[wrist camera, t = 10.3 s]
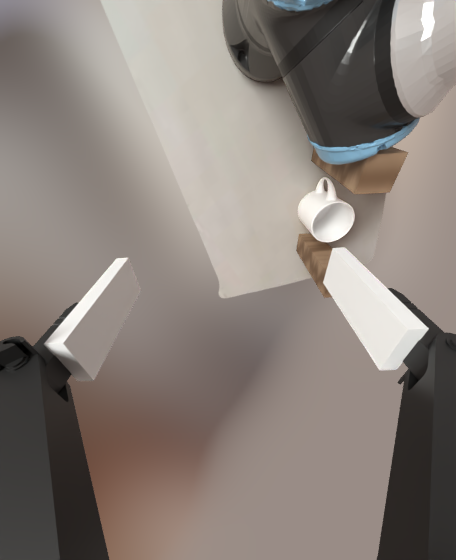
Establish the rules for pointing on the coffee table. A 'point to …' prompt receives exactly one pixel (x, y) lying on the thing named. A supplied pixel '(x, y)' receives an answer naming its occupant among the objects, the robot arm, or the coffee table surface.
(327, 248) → the post far
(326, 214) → the mug
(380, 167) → the post near
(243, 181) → the coffee table surface
